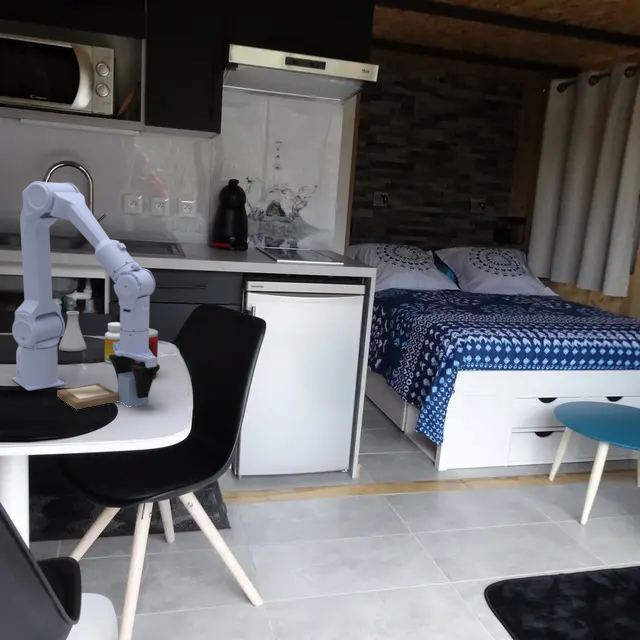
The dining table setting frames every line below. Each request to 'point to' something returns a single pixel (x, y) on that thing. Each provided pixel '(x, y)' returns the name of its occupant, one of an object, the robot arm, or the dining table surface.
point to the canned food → (152, 344)
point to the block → (129, 390)
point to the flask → (72, 334)
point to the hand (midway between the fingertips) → (133, 392)
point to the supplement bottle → (111, 339)
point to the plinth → (87, 396)
